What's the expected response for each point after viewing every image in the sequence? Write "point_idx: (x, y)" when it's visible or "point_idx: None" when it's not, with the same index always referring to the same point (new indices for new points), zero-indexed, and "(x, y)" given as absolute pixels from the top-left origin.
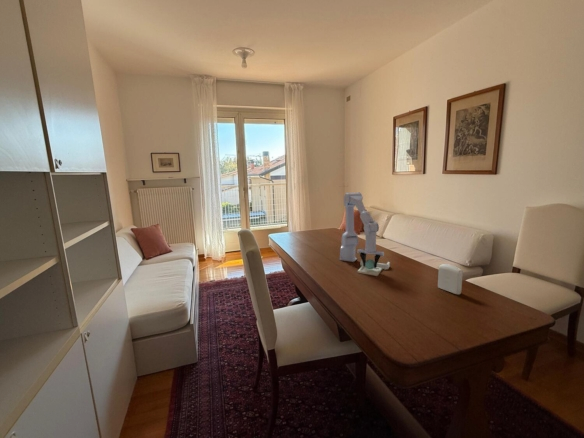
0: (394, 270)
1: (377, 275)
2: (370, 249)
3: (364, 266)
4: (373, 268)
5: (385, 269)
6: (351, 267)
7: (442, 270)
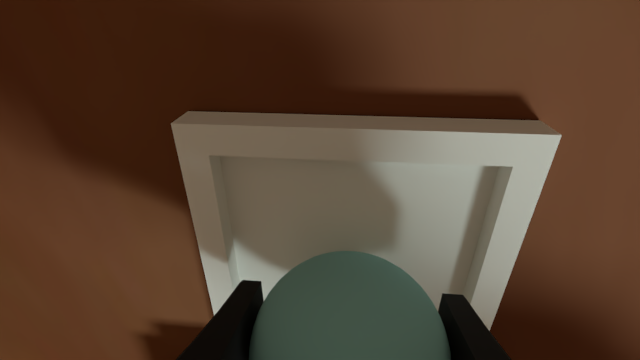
0: (117, 351)
1: (184, 115)
2: None
3: None
4: None
5: None
6: (636, 296)
7: None
